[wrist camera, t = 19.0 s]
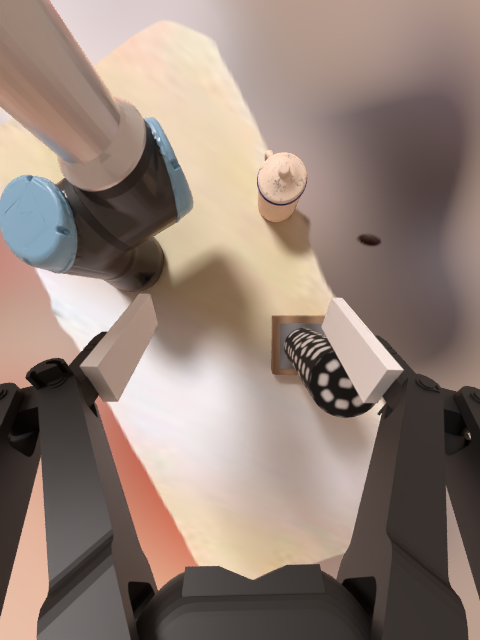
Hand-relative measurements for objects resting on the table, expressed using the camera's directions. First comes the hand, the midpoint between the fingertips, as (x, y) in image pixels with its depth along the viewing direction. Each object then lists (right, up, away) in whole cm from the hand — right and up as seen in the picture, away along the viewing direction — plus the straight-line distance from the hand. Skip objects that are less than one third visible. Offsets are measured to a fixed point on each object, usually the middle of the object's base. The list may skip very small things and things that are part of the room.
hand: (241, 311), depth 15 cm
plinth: (+14, -6, +32) cm, 35 cm away
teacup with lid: (+8, +27, +30) cm, 41 cm away
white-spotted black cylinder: (+14, -6, +28) cm, 32 cm away
